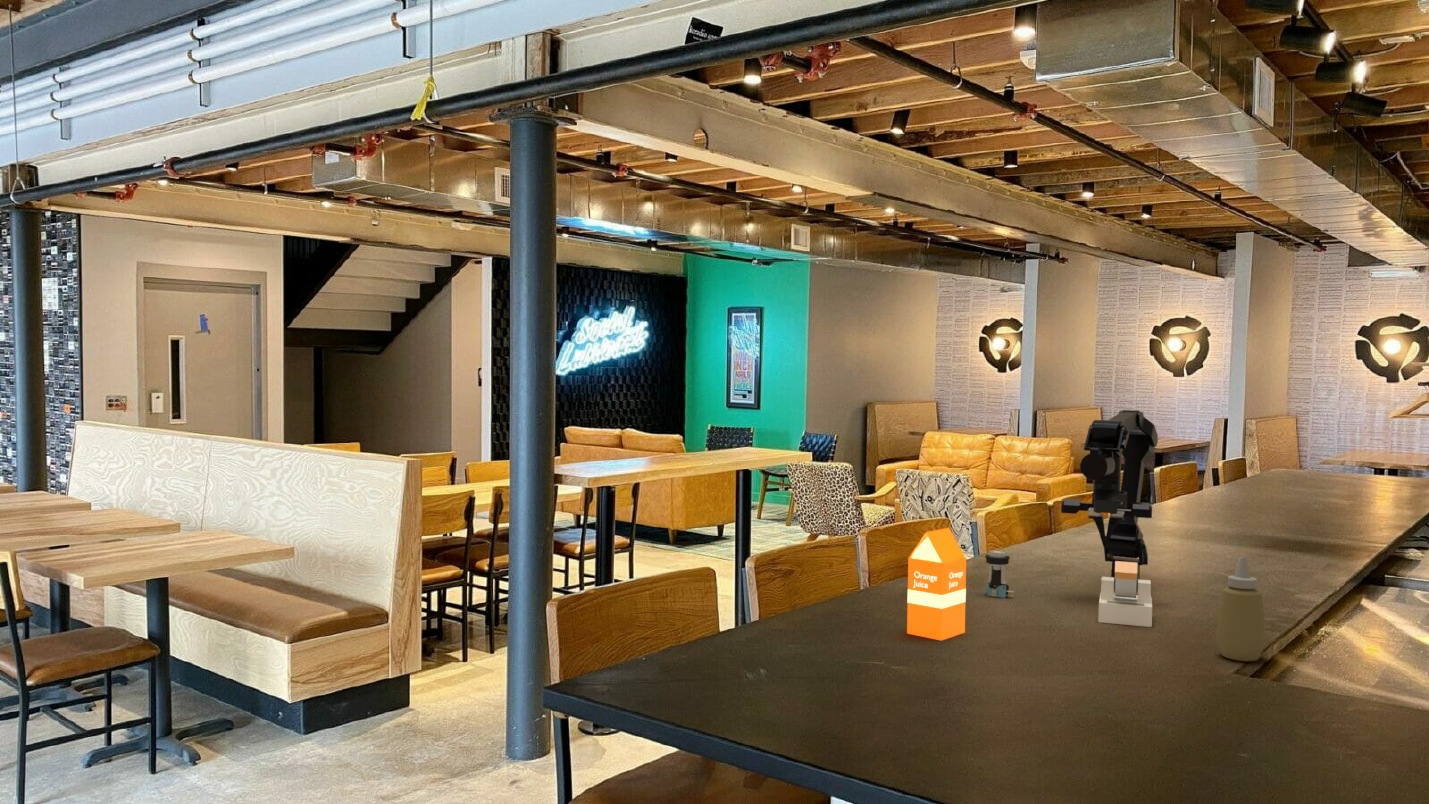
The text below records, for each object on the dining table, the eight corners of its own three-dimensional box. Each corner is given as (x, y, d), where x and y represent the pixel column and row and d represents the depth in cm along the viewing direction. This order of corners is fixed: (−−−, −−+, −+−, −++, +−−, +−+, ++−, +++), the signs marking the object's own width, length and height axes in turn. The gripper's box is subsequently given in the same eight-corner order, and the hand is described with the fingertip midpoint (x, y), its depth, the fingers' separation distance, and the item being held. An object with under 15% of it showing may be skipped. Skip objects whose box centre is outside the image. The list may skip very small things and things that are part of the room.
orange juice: (965, 632, 204) (967, 529, 203) (941, 640, 197) (943, 534, 197) (930, 625, 209) (932, 525, 208) (905, 633, 203) (907, 529, 202)
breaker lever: (1114, 589, 219) (1115, 561, 213) (1136, 590, 218) (1137, 562, 212) (1114, 599, 217) (1114, 571, 212) (1136, 601, 216) (1137, 573, 210)
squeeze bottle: (1261, 654, 190) (1264, 555, 190) (1269, 666, 182) (1272, 562, 182) (1212, 650, 193) (1215, 552, 192) (1218, 661, 185) (1220, 559, 185)
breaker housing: (1100, 611, 224) (1100, 573, 224) (1151, 615, 220) (1151, 577, 220) (1098, 622, 214) (1099, 582, 213) (1151, 627, 210) (1152, 587, 210)
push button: (1018, 596, 238) (1019, 552, 237) (1008, 600, 233) (1009, 555, 233) (991, 592, 242) (991, 549, 242) (980, 596, 238) (981, 551, 238)
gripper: (1060, 477, 230) (1058, 549, 230) (1153, 482, 223) (1151, 555, 223) (1063, 473, 240) (1062, 541, 240) (1152, 477, 233) (1150, 547, 234)
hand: (1105, 546), depth 234 cm, fingers closed
